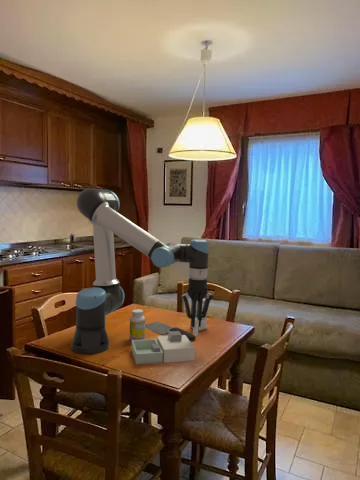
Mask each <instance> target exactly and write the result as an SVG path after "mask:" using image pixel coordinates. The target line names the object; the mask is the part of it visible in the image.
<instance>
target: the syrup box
mask: <svg viewBox="0 0 360 480" xmlns="http://www.w3.org/2000/svg"><path fill="white" fill-rule="evenodd" d="M205 299H206V298H204V299H203V303H202V310H203V306H204V303H205ZM190 304H192V302H190ZM197 304H198V302H197V303H196V317H195V318H197ZM207 314H208V313H207ZM207 314H206V317H205V318H202V320H201V326H200V327H198V332H199V331H204V330H206V329H207V318H208V316H207ZM190 329H193V327H192V326H191V325H190Z"/></svg>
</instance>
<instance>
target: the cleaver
mask: <svg viewBox="0 0 360 480" xmlns="http://www.w3.org/2000/svg"><path fill="white" fill-rule="evenodd" d="M145 329H148V330H149V331H151V332H154V333H156V334H157V333H158V334H161V335H162V336H167V335H168V332H169V331H179V332H180V333H181V334H182V335H186V337H187V338H188V339H189V341H190V342H192V341H195V340H196V336H195V335H194V334H193V333H190V332H189V331H186V330H184V329H182V328H179V327H178V326H177V327H176V326H175V327H173V326H171V325H168V324H165V323H162V322H159V321H154V322H150V323H145Z"/></svg>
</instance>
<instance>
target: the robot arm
mask: <svg viewBox="0 0 360 480" xmlns="http://www.w3.org/2000/svg"><path fill="white" fill-rule="evenodd" d="M120 204H121V203H120V198H119V197H118V196H117V194H116V193H115V192H113V191H112V190H109V189H105V188H94V187H93V188H86V189H84V190H82V191H81V192H80V193H79V194H78V196H77V198H76V207H77V209H78V212H79V213H80V214H81V215H82V216H83V217H84V218H86V219H88V222H89V223H91V225H92V232H93V251H94V265H95V280H94V281H93V282H92V287H88V288H83V289H81V290H80V291H78V292H77V294H76V298H75V331H74V334H73V337H72V340H71V344H70V346H71V350H72V351H74V352H75V353H79V354H85V355H86V354H87V355H88V354H90V355H92V354H98V353H102V352H105V351H106V350H107V349H109V347H110V339H109V336H108V332H107V328H106V316H108V315H109V314H111V313H113V312H116V311H117V310H118V309H120V307H122V306H123V304H124V301H125V292H124V289H123V288H122V287H121V285H120V283H121V282H120V281H119V279H117V275H116V273H117V272H116V259H115V257H116V256H115V238H114V237H115V236H114V235H116V236H117V237H118V238H120V239H122V240H123V241H125V242H126V243H127V244H129V245H130V246H131V247H133V248H135V249H136V250H138V251H139V252H141V253H142V254H144V255H145V256H146V257H148V258H149V259H151V261H152V264H153V265H154V267H155V266H156V267H157V268H159V269H161V268H167V267H170V266H171V265H173V264H175V263H185V264H188V263H189V264H188V267H189V268H188V277H189V278H188V283H187V284H188V288H187V290H186V293H184V294H181V298H182V300H183V303H184V309H185V314H186V317H187V318H188V319H190V327H191V326H192V327H193V328H192V335H194V336H195V337H196V336H199V331H198V327H200V326H201V320H202V318H205V317H206V314H208V309H209V305H210V302H211V300H212V299H213V297H214V295H213V294H211V293H209V292H208V279H207V278H208V272H209V271H208V267H209V266H208V265H209V255H210V254H209V253H210V252H209V242H208V240H204V239H191V240H190V242H189V243H188V244H187V243H177V242H163V241H161V240H159V239H158V238H156V237H155V236H154V235H152V234H151V233H149V232H147V231H146V230H144V229H143V228H141V227H140V226H138V225H137V224H135V223H134V222H132V221H131V220H130V219H128V218H127V217H125V216H123V215H122V214H120V213H119V212H118V211H119V210H120V206H121V205H120ZM189 298H190V299H191V300H190V301H191V302H192V304H191V302H189ZM203 299H205V303H204V306H203V310H202V303H203ZM197 302H198V304H197V318H195V317H196V303H197ZM189 303H190V304H191V305H190V304H189Z"/></svg>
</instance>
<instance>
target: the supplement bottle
mask: <svg viewBox="0 0 360 480" xmlns="http://www.w3.org/2000/svg"><path fill="white" fill-rule="evenodd" d="M131 314H132V315H131V316H130V318H129V340H130V341H131V342H132V340H146V327H145V325H146V317H145V316H144V310H143V309H139V308H137V309H132V311H131Z"/></svg>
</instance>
